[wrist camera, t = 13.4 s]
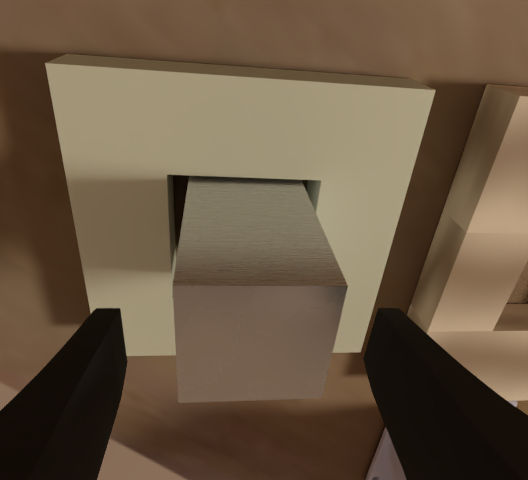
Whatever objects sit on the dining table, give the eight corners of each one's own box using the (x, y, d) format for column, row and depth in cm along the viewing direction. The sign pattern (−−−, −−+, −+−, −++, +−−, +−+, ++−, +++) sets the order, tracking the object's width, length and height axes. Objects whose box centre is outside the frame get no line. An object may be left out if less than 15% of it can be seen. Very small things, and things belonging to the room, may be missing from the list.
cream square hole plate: (349, 323, 21) (360, 352, 19) (108, 324, 20) (98, 356, 18) (411, 78, 15) (435, 89, 13) (66, 53, 13) (45, 63, 12)
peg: (283, 246, 18) (321, 398, 12) (192, 245, 18) (178, 402, 11) (293, 162, 16) (347, 285, 9) (191, 158, 16) (172, 285, 9)
